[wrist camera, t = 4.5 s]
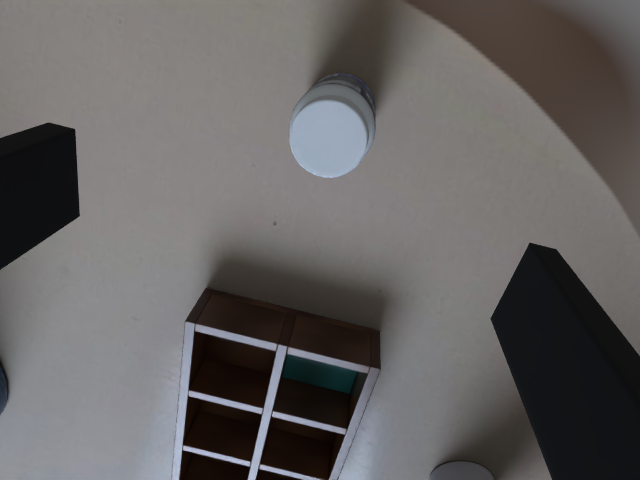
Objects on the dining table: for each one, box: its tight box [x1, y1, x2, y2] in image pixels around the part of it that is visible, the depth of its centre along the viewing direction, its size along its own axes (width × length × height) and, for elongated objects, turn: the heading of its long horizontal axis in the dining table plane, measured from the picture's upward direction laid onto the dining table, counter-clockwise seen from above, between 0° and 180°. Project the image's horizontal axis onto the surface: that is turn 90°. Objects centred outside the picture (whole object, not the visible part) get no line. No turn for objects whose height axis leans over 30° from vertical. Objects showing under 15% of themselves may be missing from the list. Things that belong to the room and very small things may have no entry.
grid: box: [171, 288, 381, 480], centre depth 40 cm, size 15×23×5 cm
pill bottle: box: [289, 73, 376, 178], centre depth 25 cm, size 5×5×8 cm
